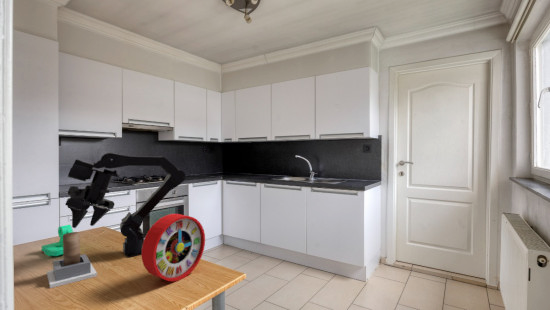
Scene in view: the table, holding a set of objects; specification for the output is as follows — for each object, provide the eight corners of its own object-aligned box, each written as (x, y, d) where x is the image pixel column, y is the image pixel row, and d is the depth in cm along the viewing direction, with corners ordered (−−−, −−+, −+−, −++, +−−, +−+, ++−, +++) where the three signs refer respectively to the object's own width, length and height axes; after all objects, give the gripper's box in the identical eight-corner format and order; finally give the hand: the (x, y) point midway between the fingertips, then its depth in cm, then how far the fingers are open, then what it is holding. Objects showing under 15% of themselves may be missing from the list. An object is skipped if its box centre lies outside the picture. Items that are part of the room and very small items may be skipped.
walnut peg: (82, 268, 96) (82, 231, 95) (75, 274, 91) (75, 235, 91) (68, 269, 95) (67, 232, 95) (60, 275, 91) (59, 236, 90)
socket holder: (90, 264, 102) (89, 251, 101) (97, 276, 93) (96, 262, 93) (46, 274, 94) (46, 260, 93) (49, 288, 85) (49, 273, 84)
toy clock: (153, 292, 83) (153, 223, 82) (141, 286, 86) (141, 220, 85) (205, 267, 100) (205, 210, 99) (193, 264, 103) (193, 208, 102)
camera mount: (41, 252, 113) (40, 226, 113) (63, 246, 119) (63, 222, 119) (54, 259, 106) (53, 231, 106) (77, 252, 113) (76, 227, 113)
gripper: (96, 180, 116) (81, 218, 113) (60, 176, 97) (41, 221, 95) (121, 188, 115) (106, 227, 112) (90, 186, 96) (71, 231, 94)
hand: (83, 226), depth 103 cm, fingers open, 9 cm apart
